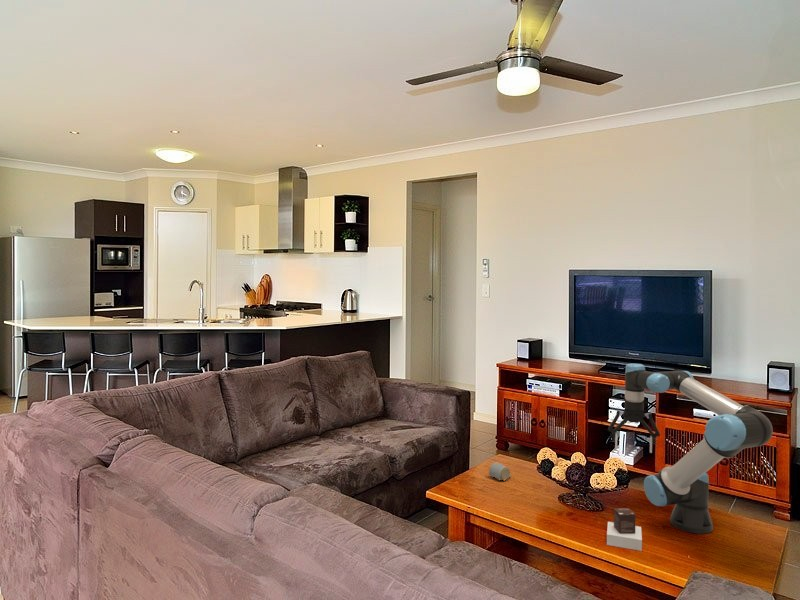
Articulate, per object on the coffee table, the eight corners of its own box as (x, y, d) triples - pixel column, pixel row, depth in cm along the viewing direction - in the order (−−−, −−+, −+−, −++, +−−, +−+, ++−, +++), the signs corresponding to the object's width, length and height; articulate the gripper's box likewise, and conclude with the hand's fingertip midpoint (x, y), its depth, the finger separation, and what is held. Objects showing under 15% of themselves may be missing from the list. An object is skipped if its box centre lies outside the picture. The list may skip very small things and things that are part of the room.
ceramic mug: (501, 483, 271) (501, 467, 271) (488, 478, 277) (488, 463, 277) (515, 479, 278) (515, 463, 277) (502, 474, 284) (503, 459, 284)
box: (629, 526, 214) (629, 508, 214) (635, 534, 208) (636, 514, 208) (613, 526, 214) (613, 507, 214) (619, 533, 208) (619, 514, 208)
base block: (640, 537, 214) (641, 526, 214) (641, 550, 203) (641, 540, 203) (607, 531, 219) (607, 521, 219) (606, 544, 208) (606, 534, 208)
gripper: (666, 401, 235) (665, 451, 236) (603, 396, 244) (602, 444, 245) (667, 404, 228) (666, 456, 229) (602, 399, 237) (601, 448, 238)
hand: (633, 450), depth 237 cm, fingers open, 13 cm apart
